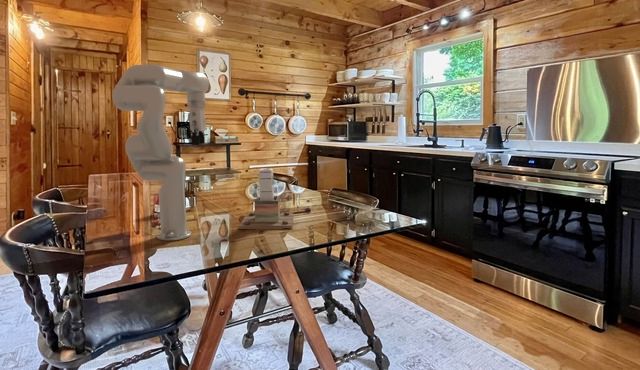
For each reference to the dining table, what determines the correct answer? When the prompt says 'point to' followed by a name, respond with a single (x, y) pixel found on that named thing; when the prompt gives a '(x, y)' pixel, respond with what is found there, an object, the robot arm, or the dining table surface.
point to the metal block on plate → (267, 216)
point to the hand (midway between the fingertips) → (198, 144)
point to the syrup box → (266, 184)
